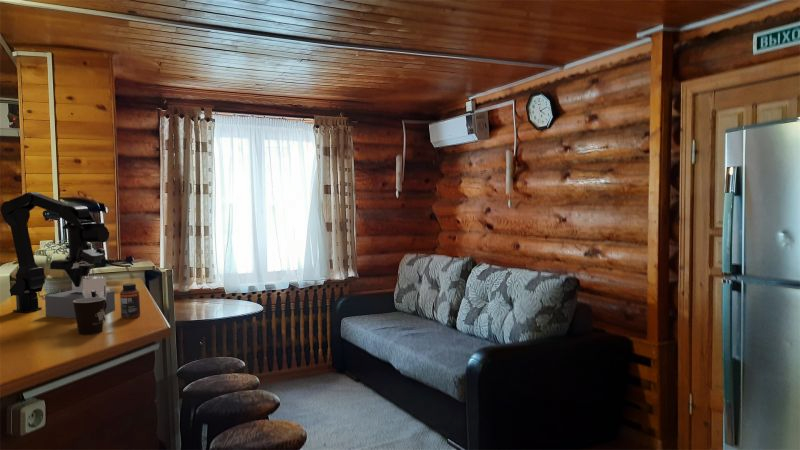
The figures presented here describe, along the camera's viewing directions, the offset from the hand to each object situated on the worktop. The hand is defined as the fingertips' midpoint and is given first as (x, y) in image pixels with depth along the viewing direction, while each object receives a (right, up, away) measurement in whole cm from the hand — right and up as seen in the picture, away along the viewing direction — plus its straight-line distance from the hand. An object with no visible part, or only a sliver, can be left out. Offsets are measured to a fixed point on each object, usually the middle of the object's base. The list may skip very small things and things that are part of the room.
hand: (79, 286), depth 200 cm
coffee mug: (+18, -11, -24) cm, 32 cm away
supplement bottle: (+20, -10, -5) cm, 23 cm away
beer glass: (+13, -11, -13) cm, 21 cm away
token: (0, -1, 0) cm, 1 cm away
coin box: (0, -9, +1) cm, 10 cm away
